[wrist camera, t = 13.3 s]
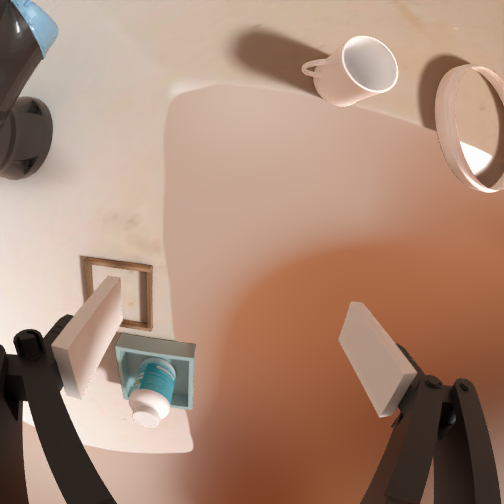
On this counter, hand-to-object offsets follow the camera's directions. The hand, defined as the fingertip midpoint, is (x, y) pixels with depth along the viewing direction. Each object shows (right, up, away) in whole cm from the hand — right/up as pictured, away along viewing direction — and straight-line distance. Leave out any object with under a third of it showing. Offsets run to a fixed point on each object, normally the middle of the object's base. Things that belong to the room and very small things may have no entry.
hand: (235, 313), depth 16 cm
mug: (+13, +30, +23) cm, 40 cm away
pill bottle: (-18, -20, +37) cm, 46 cm away
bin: (-18, -20, +38) cm, 46 cm away
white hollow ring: (+48, +29, +27) cm, 62 cm away
